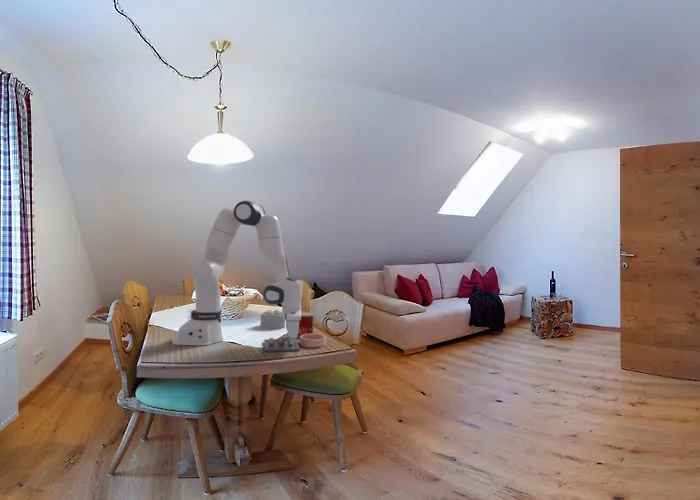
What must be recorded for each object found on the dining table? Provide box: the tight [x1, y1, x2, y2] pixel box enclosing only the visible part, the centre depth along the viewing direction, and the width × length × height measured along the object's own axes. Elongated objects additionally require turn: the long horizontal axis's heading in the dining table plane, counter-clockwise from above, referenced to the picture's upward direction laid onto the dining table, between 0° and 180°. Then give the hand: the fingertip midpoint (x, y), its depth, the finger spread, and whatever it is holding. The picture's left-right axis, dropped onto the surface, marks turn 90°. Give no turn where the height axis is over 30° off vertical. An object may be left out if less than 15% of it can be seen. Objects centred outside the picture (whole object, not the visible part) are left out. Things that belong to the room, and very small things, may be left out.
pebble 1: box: [268, 337, 275, 345], centre depth 189 cm, size 3×3×3 cm
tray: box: [263, 338, 300, 353], centre depth 190 cm, size 15×16×1 cm
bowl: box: [299, 332, 327, 349], centre depth 196 cm, size 12×12×4 cm
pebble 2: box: [277, 337, 286, 345], centre depth 190 cm, size 3×3×3 cm
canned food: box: [298, 311, 315, 337], centre depth 212 cm, size 8×8×11 cm
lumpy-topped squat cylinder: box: [259, 309, 286, 330], centre depth 227 cm, size 10×13×9 cm
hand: (291, 342), depth 191 cm, fingers closed on pebble 3, 3 cm apart
